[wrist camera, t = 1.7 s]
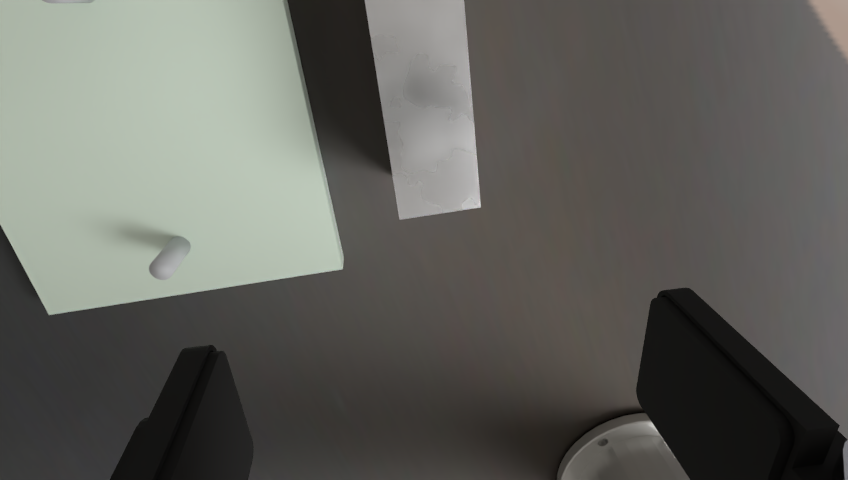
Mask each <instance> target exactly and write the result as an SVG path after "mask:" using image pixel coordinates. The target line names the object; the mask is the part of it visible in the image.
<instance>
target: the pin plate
mask: <svg viewBox="0 0 848 480" xmlns="http://www.w3.org/2000/svg"><path fill="white" fill-rule="evenodd" d="M0 225H1V227H2V228H3V230H4V232H5V234H6V236H7V238H8V240H9V242H10V243H11V245H12V247H13V249H14V251H15V253H16V255H17V256H18V258H19V260H20V262H21V264H22V266H23V268H24V269H25V271H26V273H27V275H28V277H29V279H30V281H31V282H32V284H33V286H34V288H35V290H36V292H37V294H38V296H39V297H40V299H41V301H42V303H43V305H44V307H45V309H46V310H47V312H48V314H49V315H52V314H59V313H65V312H72V311H78V310H85V309H91V308H97V307H104V306H110V305H117V304H123V303H129V302H136V301H142V300H149V299H155V298H161V297H168V296H174V295H181V294H187V293H194V292H200V291H206V290H213V289H219V288H226V287H232V286H238V285H245V284H251V283H258V282H264V281H270V280H277V279H283V278H290V277H296V276H303V275H309V274H315V273H322V272H328V271H335V270H341V269H343V262H344V257H343V252H342V247H341V243H340V238H339V234H338V229H337V225H336V220H335V215H334V211H333V206H332V202H331V197H330V193H329V188H328V184H327V179H326V174H325V170H324V165H323V161H322V156H321V152H320V147H319V143H318V138H317V133H316V129H315V124H314V120H313V115H312V111H311V106H310V102H309V97H308V92H307V88H306V83H305V79H304V74H303V70H302V65H301V61H300V56H299V51H298V47H297V42H296V38H295V33H294V29H293V24H292V20H291V15H290V10H289V6H288V1H287V0H0Z"/></svg>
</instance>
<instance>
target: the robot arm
mask: <svg viewBox="0 0 848 480" xmlns="http://www.w3.org/2000/svg"><path fill="white" fill-rule="evenodd" d="M636 392H637V398H638V401H639V403H640V405H641V407H642V408H643V410H644V411H645V413H638V414H632V415H626V416H622V417H619V418H616V419H612V420H610V421H608V422H605V423H603V424H601V425H599V426H597V427H595V428H594V429H592V430H591V431H589V432H588V433H586V434H585V435H583V436H582V437H581V438H580V439H579V440H578V441H577V442H575V443H574V445H573V446H572V447H571V448H570V449H569V451H568V452H567V453H566V454H565V456H564V458H563V460H562V462H561V463H560V466H559V470H558V473H557V480H848V440H847V439H846V438H845V437H844V436H843V435H842V434H841V433H840V432H839V431H837V430H838V428H839V425H838V424H837V423H836V422H835V421H834V420H833V419H832V418H831V417H830V416H829V415H827V414H826V413H825V412H824V411H823V410H822V409H821V408H820V407H819V406H818V405H817V404H815V403H814V402H813V401H812V400H811V399H810V398H809V397H808V396H807V395H806V394H805V393H804V392H802V391H801V390H800V389H799V388H798V387H797V386H796V385H795V384H794V383H793V382H792V381H790V380H789V379H788V378H787V377H786V376H785V375H784V374H783V373H782V372H781V371H780V370H778V369H777V368H776V367H775V366H774V365H773V364H772V363H771V362H770V361H769V360H768V359H766V358H765V357H764V356H763V355H762V354H761V353H760V352H759V351H758V350H757V349H756V348H755V347H753V346H752V345H751V344H750V343H749V342H748V341H747V340H746V339H745V338H744V337H743V336H741V335H740V334H739V333H738V332H737V331H736V330H735V329H734V328H733V327H732V326H731V325H729V324H728V323H727V322H726V321H725V320H724V319H723V318H722V317H721V316H720V315H719V314H718V313H716V312H715V311H714V310H713V309H712V308H711V307H710V306H709V305H708V304H707V303H706V302H704V301H703V300H702V299H701V298H700V297H699V296H698V295H697V294H696V293H695V292H694V291H692V290H691V289H689V288H679V289H671V290H663V291H661V292H659V294H658V296H657V298H654V299H653V300H652V301H651V304H650V310H649V316H648V322H647V328H646V334H645V340H644V346H643V352H642V358H641V364H640V370H639V376H638V382H637V388H636ZM252 459H253V441H252V438H251V434H250V431H249V428H248V425H247V421H246V418H245V415H244V412H243V409H242V405H241V402H240V399H239V396H238V392H237V389H236V386H235V383H234V379H233V376H232V373H231V370H230V367H229V363H228V360H227V357H226V354H225V353H224V351H217V350H216V348H215V347H214V346H212V345H208V346H200V347H192V348H185V349H183V350H182V351H181V353H180V355H179V357H178V359H177V361H176V363H175V365H174V367H173V369H172V371H171V373H170V375H169V377H168V379H167V381H166V384H165V386H164V388H163V390H162V392H161V394H160V396H159V398H158V400H157V402H156V404H155V406H154V408H153V410H152V412H151V414H150V416H149V418H145V419H143V420H142V421H141V422H140V423H139V424H138V426H137V427H136V429H135V431H134V433H133V435H132V437H131V439H130V441H129V443H128V445H127V447H126V449H125V451H124V453H123V455H122V457H121V459H120V461H119V463H118V465H117V467H116V469H115V471H114V472H113V474H112V476H111V478H110V480H248V477H249V473H250V468H251V464H252Z"/></svg>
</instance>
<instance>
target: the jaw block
mask: <svg viewBox="0 0 848 480" xmlns="http://www.w3.org/2000/svg"><path fill="white" fill-rule="evenodd" d="M365 5H366V12H367V18H368V24H369V31H370V37H371V43H372V49H373V56H374V62H375V68H376V75H377V81H378V87H379V93H380V100H381V106H382V112H383V119H384V125H385V131H386V137H387V144H388V150H389V156H390V163H391V169H392V175H393V181H394V188H395V194H396V200H397V207H398V213H399V219H400V220H401V219H408V218H414V217H421V216H427V215H434V214H440V213H447V212H453V211H459V210H466V209H472V208H479V207H481V203H480V191H479V179H478V167H477V154H476V142H475V130H474V118H473V105H472V93H471V81H470V69H469V56H468V44H467V32H466V20H465V7H464V0H365Z"/></svg>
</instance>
